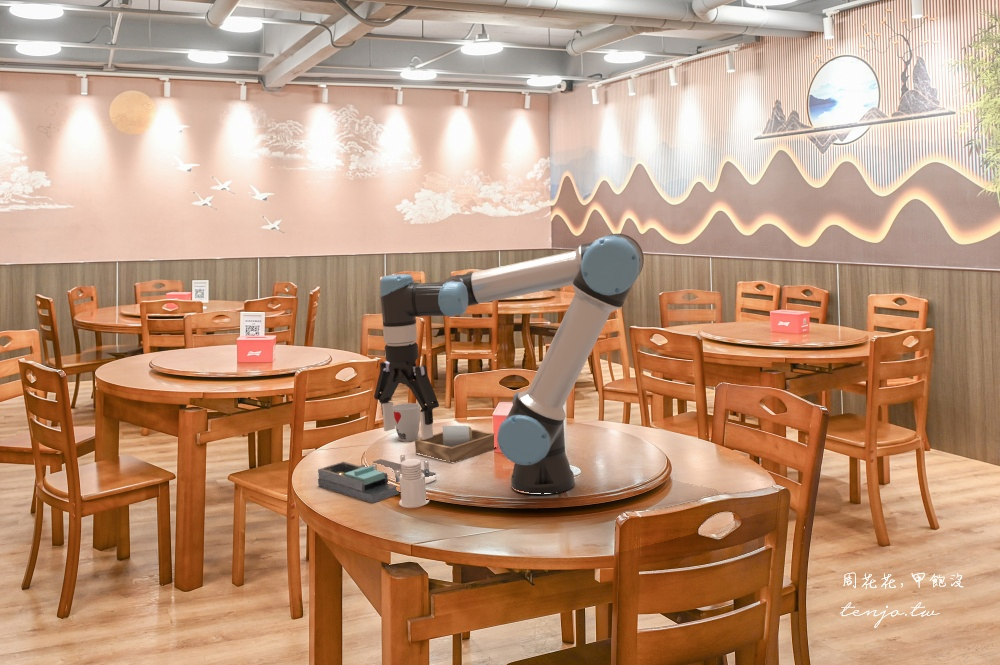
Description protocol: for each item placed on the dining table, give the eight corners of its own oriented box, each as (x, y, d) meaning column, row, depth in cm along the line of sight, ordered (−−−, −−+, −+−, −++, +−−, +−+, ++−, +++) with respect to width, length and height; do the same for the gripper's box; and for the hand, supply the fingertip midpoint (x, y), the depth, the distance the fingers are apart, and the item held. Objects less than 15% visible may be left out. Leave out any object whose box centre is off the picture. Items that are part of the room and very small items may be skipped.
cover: (384, 478, 219) (383, 468, 218) (364, 485, 214) (364, 474, 214) (364, 472, 224) (363, 463, 224) (344, 479, 220) (344, 469, 220)
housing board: (436, 480, 225) (434, 461, 224) (372, 503, 211) (370, 482, 210) (381, 466, 241) (379, 448, 240) (318, 486, 227) (316, 467, 226)
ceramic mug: (473, 454, 246) (471, 426, 245) (443, 456, 246) (441, 429, 245) (471, 444, 257) (469, 418, 256) (443, 447, 256) (441, 420, 255)
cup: (392, 437, 269) (389, 405, 268) (419, 434, 271) (416, 401, 270) (397, 444, 261) (395, 410, 260) (425, 440, 264) (422, 407, 262)
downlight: (400, 497, 214) (396, 457, 212) (429, 495, 214) (426, 455, 212) (397, 510, 206) (394, 469, 204) (428, 508, 206) (425, 467, 204)
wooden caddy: (497, 447, 251) (496, 433, 251) (452, 463, 239) (451, 448, 239) (460, 440, 262) (459, 426, 261) (415, 454, 250) (414, 440, 249)
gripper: (450, 344, 198) (456, 437, 201) (380, 336, 216) (387, 423, 219) (424, 349, 193) (431, 445, 196) (354, 341, 210) (362, 430, 214)
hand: (408, 434), depth 208 cm, fingers open, 13 cm apart
